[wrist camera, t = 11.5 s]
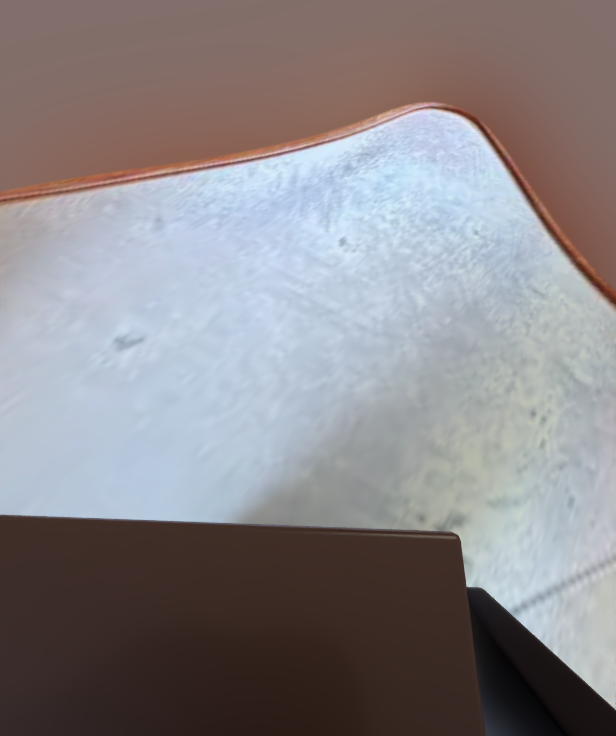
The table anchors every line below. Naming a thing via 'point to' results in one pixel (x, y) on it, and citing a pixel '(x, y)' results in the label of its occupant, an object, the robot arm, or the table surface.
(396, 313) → the table surface
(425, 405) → the table surface
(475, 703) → the walnut block
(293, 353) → the table surface
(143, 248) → the table surface
